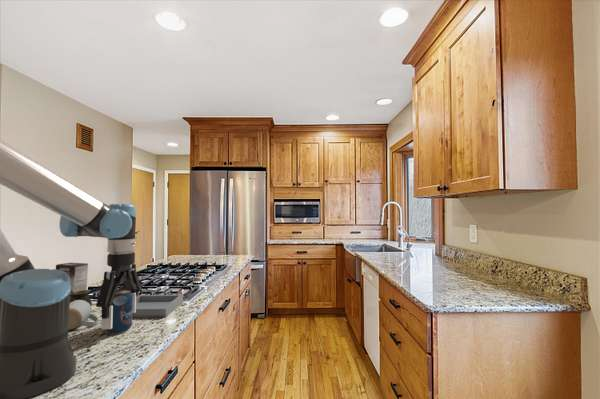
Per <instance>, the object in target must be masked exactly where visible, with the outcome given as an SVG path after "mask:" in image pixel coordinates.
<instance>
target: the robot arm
mask: <svg viewBox="0 0 600 399" xmlns="http://www.w3.org/2000/svg"><path fill="white" fill-rule="evenodd" d="M0 185H1V186H4V187H6V188H7V189H9V190H11V191H13V192H14V193H17V194H19V195H20V196H23V197H24V198H26V199H28V200H30V201H32V202H35V203H36V204H38V205H40V206H42V207H44V208H45V209H48V210H49V211H51V212H53V213H55V214H57V215H59V216H60V217H59V223H58V224H59V225H58V226H59V229H60V230H59V231H60V233H61V234H62V236H64V237H65V238H71V237H72V238H74V237H75V238H77V237H91V238H92V237H93V238H102V239H103V238H104V239H107V247H106V248H107V249H106V251H107V253H108V254H107V256H106V257H107V259H106V261H107V262H106V265H107V266H108V267H110V268H111V269H110V271H104V273H103V280H102V284H101V286H100V291H99V294H98V296H97V300H96V304H95V306H96V307H97V308H101V319H100V320H101V321H100V322H101V324H100V325H101V328H100V329H101V330H106V329H112V322H113V306H111V304H112V301H113V299H114V296H115V294H116V292H117V290H119V288H120V286H121V284H122V283H123V285H125V286H126V288H127V289H128V290H131V294H132V295H133V300H132V313H135V312H136V297H137V294H136V292H139V291H140V284H141V283H140V281H139V277H138V273H137V265H136V263H135V262H136V253H135V252H134V251H135V250H136V245H137V242H136V229H137V228H136V227H137V226H136V225H137V223H136V221H137V209H136V206H135V205H134V204H131V203H129V204H127V203H110V204H109V205H108V204H106V203H104V202H102V201H101V200H99V199H98V198H96V197H94V196H93V195H91V194H89V193H88V192H86V191H85V190H83V189H81V188H80V187H78V186H77V185H75V184H74V183H72V182H70V181H69V180H66V179H65V178H64V177H62V176H60V175H59V174H57V173H56V172H54V171H52V170H50V169H49V168H47V167H46V166H44V165H43V164H41V163H39V162H38V161H36V160H35V159H33V158H31V157H30V156H27V154H25V153H23V152H22V151H20V150H19V149H16V148H15V147H13V146H11V145H10V144H8V143H7V142H5V141H4V140H2V139H1V138H0ZM139 283H140V284H139ZM70 291H71V284H70V277H69V275H68V274H67V273H66V272H64V271H61V270H56V268H55V269H54V268H53V269H50V268H35V266H34V265H33V263H32V262H31V260H30V259H29V256H27V255H21V254H17V253H16V252H15V250H14V248H13V247H12V245H11V244H10V242H9V241H8V239H7V237H6V235H4V233H3V231H2V230H1V228H0V399H28V398H33V397H34V396H39V395H41V394H43V393H46V392H49V391H51V390H53V389H55V388H57V387H59V386H61V385H62V384H65V382H67V381H68V380H70V379H71V378H72V377H73V376H74V375H75V374H76V372H77V358H76V356H75V355H74V351H73V348H72V345H71V343H70V340H69V330H68V324H69V304H70Z"/></svg>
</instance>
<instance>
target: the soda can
mask: <svg viewBox="0 0 600 399" xmlns="http://www.w3.org/2000/svg"><path fill="white" fill-rule="evenodd" d="M132 300H133V295H132V294H131V290H128V289H122V290H119V289H117V292H116V294H115V296H114V299H113V301H112V304H111V306H113V322H112V329H105V330H106V331H107V333H108V334H111V335H117V334H123V333H125V332H127V331H129V330H130V329H131V327H132V325H133V318H132Z"/></svg>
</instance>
